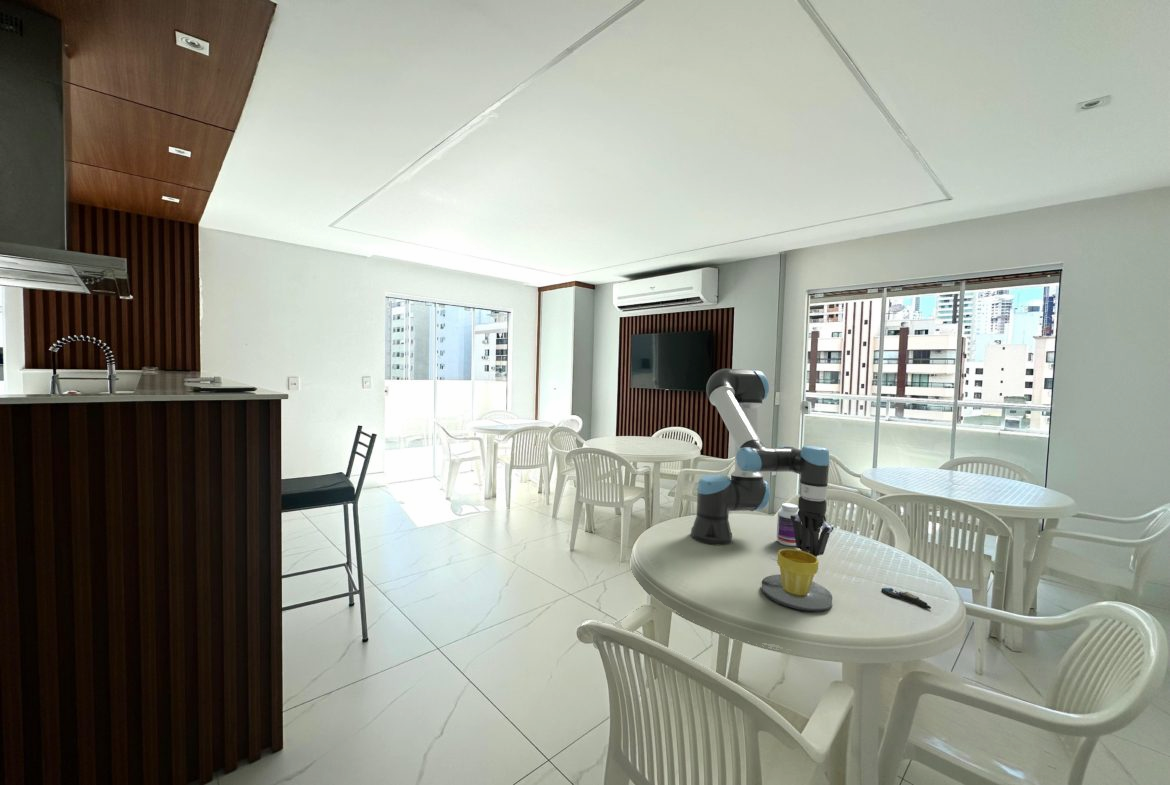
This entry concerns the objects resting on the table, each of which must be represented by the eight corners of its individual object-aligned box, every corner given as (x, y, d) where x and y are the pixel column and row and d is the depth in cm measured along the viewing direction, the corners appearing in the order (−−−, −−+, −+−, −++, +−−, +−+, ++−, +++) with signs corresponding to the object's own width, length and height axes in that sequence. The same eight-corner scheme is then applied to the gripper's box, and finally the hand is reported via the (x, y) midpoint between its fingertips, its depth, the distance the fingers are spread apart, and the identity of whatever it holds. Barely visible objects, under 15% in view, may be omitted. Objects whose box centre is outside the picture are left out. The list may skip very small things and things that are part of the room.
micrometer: (879, 586, 132) (892, 584, 133) (879, 592, 132) (891, 590, 133) (920, 606, 120) (933, 603, 122) (920, 612, 120) (933, 610, 122)
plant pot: (824, 594, 123) (826, 559, 123) (799, 602, 119) (802, 565, 118) (792, 578, 132) (793, 546, 132) (767, 585, 128) (769, 551, 127)
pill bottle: (803, 547, 163) (806, 508, 163) (781, 546, 164) (784, 508, 163) (794, 539, 172) (796, 502, 171) (772, 538, 172) (775, 501, 171)
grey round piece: (760, 601, 121) (761, 579, 121) (762, 568, 142) (763, 550, 142) (836, 617, 114) (837, 594, 114) (826, 580, 135) (827, 561, 135)
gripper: (785, 493, 139) (781, 568, 140) (824, 505, 127) (820, 586, 128) (801, 491, 143) (797, 564, 143) (841, 502, 131) (836, 581, 132)
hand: (808, 574), depth 136 cm, fingers closed
